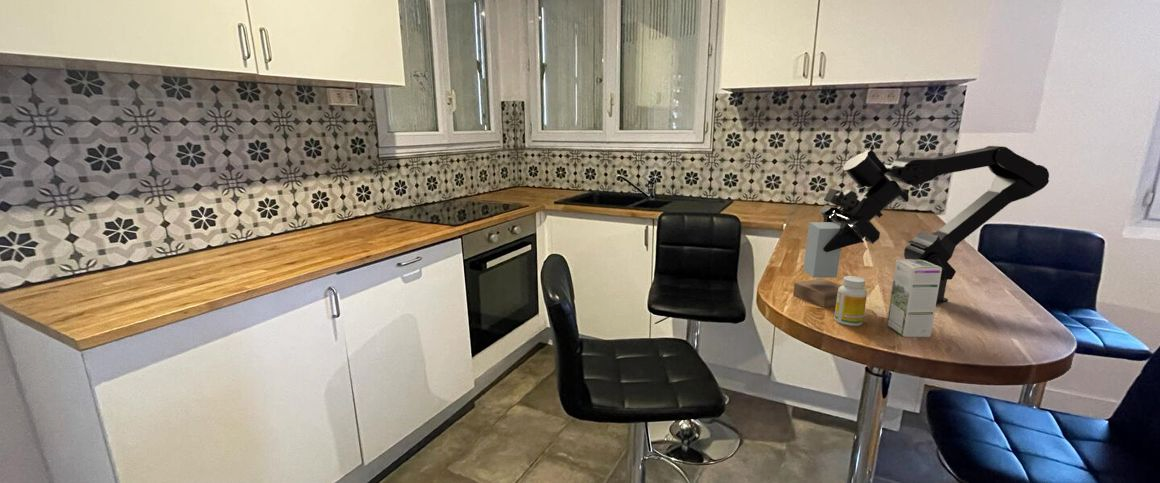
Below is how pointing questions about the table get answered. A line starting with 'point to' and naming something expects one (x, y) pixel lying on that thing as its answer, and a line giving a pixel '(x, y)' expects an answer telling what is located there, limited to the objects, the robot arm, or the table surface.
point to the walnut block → (817, 292)
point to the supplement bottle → (851, 301)
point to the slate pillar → (821, 250)
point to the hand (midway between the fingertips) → (819, 247)
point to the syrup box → (914, 297)
